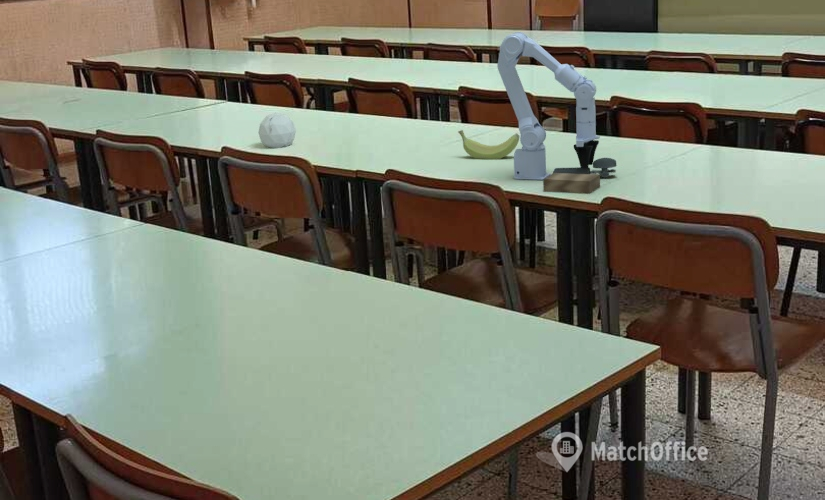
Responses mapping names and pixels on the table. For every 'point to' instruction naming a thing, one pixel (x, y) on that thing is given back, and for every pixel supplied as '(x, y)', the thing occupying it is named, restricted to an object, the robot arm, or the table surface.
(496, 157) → the banana
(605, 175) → the can opener
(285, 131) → the geodesic sphere
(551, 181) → the walnut block
